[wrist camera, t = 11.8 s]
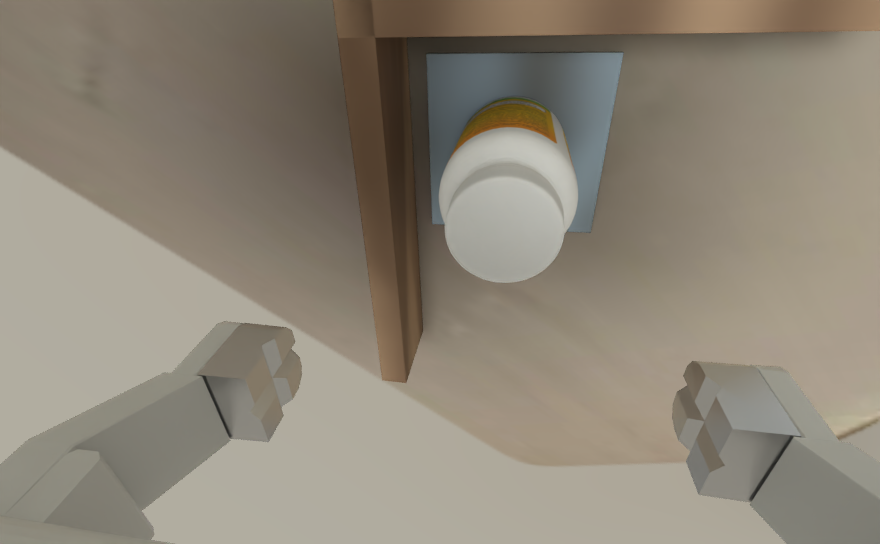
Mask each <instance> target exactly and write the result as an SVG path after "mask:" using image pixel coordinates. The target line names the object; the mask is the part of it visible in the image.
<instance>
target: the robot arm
mask: <svg viewBox="0 0 880 544" xmlns="http://www.w3.org/2000/svg"><path fill="white" fill-rule="evenodd" d="M294 343H295V339H294V336H293V333H292V330H290V329H288V328H286V327H277V326H268V325H259V324H250V323H236V322H227V321H224V322H222V323H218V324H217V325H216V326H215V327H214V328H213V329H212V330H211V331H210V332H209V333H208V334H207V335H206V337H205V338H204V339H203V340H202V341H201V342H200V343H199V344H198V345H197V346H196V347H195V348H194V349H193V350H192V352H191V353H190V354H189V355H188V356H187V357H186V358H185V359H184V360H183V361H182V362H181V363H180V364H179V365H178V366H177V368H176V369H175V370H174V371H173V372H172V373H162V374H161V375H158V376H156V377H154V378H152V379H150V380H148V381H146V382H144V383H142V384H140V385H138V386H136V387H134V388H132V389H130V390H128V391H126V392H124V393H122V394H120V395H118V396H116V397H114V398H112V399H110V400H108V401H106V402H104V403H102V404H100V405H97V406H95V407H93V408H91V409H89V410H87V411H85V412H83V413H81V414H79V415H77V416H75V417H73V418H71V419H69V420H67V421H65V422H63V423H61V424H59V425H57V426H55V427H53V428H51V429H49V430H47V431H45V432H43V433H41V434H39V435H36V436H34V437H32V438H30V439H28V440H27V441H26V442H25V443H24V444H23V445H21V447H19V448H18V449H17V450H16V451H15V452H14V453H13V454H11V455H10V456H9V457H8V458H7V459H6V460H5V461H4V462H3V463H1V464H0V544H173V543H167V542H161V541H155V540H151V539H152V537H153V536H154V529H153V526H152V525H151V523H150V522H149V521H148V519H147V518H146V517H145V515H144V514H143V512H142V510H143V509H145V508H146V507H147V506H149V505H150V504H151V503H152V502H153V501H155V500H156V499H157V498H159V497H160V496H161V495H162V494H164V493H165V492H166V491H167V490H169V489H170V488H171V487H172V486H174V485H175V484H176V483H178V482H179V481H180V480H181V479H183V478H184V477H185V476H186V475H188V474H189V473H190V472H192V471H193V470H194V469H195V468H196V467H198V466H199V465H200V464H202V463H203V462H204V461H205V460H207V459H208V458H209V457H210V456H212V455H213V454H214V453H216V452H217V451H218V450H219V449H221V448H222V447H223V446H224V445H226V444H227V443H228V442H229V441H230V439H241V440H253V441H263V442H269V441H270V439H271V437H272V435H273V434H274V432H275V430H276V428H277V426H278V425H279V423H280V421H281V419H282V417H283V412H282V406H283V405H285V404H286V403H288V402H289V401H291V400H292V399H293V398H294V396H295V394H296V392H297V390H298V388H299V384H300V380H301V376H302V371H301V370H302V366H301V362H300V357H299V356H298V355H297V354H296V353H295V352H294V351H293V350H292V349H291V348H292V346H293V345H294ZM683 376H684V378H685V381H686V383H687V386H685V387H684V388H682V389H681V390H679V391H678V392H677V393H676V396H675V399H674V402H673V414H672V419H673V424H674V429H675V432H676V435H677V438H678V440H679V441H680V442H681V443H682V444H683V445H684V446H685V447H686V448H687V449H688V450H690V454H689V456H688V458H687V460H686V462H687V465H688V468H689V470H690V473H691V476H692V478H693V481H694V484H695V486H696V489H697V492H698V494H699V495H704V496H711V497H717V498H724V499H731V500H737V501H745V502H751V503H750V506H751V507H752V508H753V509H754V510H755V511H756V512H757V513H758V514H759V515H760V516H761V517H762V518H763V519H764V520H765V521H766V522H767V523H768V524H769V526H770V527H771V528H772V529H773V530H774V531H775V532H776V533H777V534H778V535H779V536H780V537H781V538H782V539H783V540H784V541H785V542H786V543H787V544H880V462H879V461H877V460H876V459H874V458H873V457H871V456H870V455H868V454H867V453H865V452H863V451H862V450H860V449H859V448H857V447H856V446H854V445H853V444H851V443H848V442H840V441H839V440H838V439H837V437H836V436H835V434H834V433H833V432H832V430H831V429H830V428H829V426H828V425H827V424H826V422H825V421H824V420H823V418H822V417H821V416H820V414H819V413H818V411H817V410H816V409H815V407H814V406H813V405H812V403H811V402H810V401H809V399H808V398H807V397H806V395H805V394H804V393H803V391H802V390H801V388H800V387H799V386H798V384H797V383H796V382H795V380H794V379H793V378H792V376H791V375H790V374H789V372H788V371H786V370H785V369H783V368H781V367H774V366H759V365H749V366H748V365H739V364H726V363H713V362H699V361H692V362H691V363H690V364H689V365H688V366H687V368H686V370H685V373H684V375H683Z"/></svg>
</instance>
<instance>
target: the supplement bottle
mask: <svg viewBox="0 0 880 544" xmlns="http://www.w3.org/2000/svg"><path fill="white" fill-rule="evenodd" d="M577 204H578V186H577V178H576V174H575V170H574V167H573V163H572V160H571V156H570V152H569V148H568V144H567V141H566V137H565V134H564V131H563V129H562V126H561V124H560V123H559V121H558V119H557V118H556V116H555V115H554V114H553V113H552V112H551V111H550V110H549V109H548V108H547V107H545V106H544V105H542V104H541V103H539V102H537V101H535V100H532V99H529V98H525V97H517V96H513V97H504V98H500V99H497V100H494V101H492V102H490V103H488V104H486V105H485V106H483V107H482V108H480V109H479V110H478V111H477V112H476V113H475V114H474V115H473V116H472V117H471V119H470V120H469V121H468V123H467V124H466V126H465V128H464V130H463V132H462V134H461V136H460V138H459V141H458V143H457V145H456V147H455V149H454V151H453V153H452V155H451V157H450V159H449V161H448V163H447V165H446V167H445V170H444V172H443V175H442V178H441V182H440V188H439V206H440V211H441V215H442V219H443V221H444V223H445V237H446V242H447V245H448V248H449V250H450V252H451V254H452V255H453V257H454V258H455V260H456V261H457V262H458V263H459V264H460V265H461V266H462V267H463V268H464V269H465V270H467V271H468V272H470V273H471V274H473V275H475V276H477V277H479V278H481V279H484V280H487V281H492V282H499V283H511V282H518V281H523V280H526V279H529V278H531V277H533V276H535V275H537V274H539V273H540V272H542V271H543V270H544V269H546V268H547V267H548V266H549V265H550V264H551V263H552V262H553V260H554V259H555V258H556V256H557V255H558V253H559V251H560V249H561V246H562V243H563V239H564V234H565V233H566V231H567V230H568V228H569V227H570V225H571V223H572V221H573V218H574V216H575V213H576V209H577Z"/></svg>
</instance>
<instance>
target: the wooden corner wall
mask: <svg viewBox="0 0 880 544" xmlns="http://www.w3.org/2000/svg"><path fill="white" fill-rule="evenodd" d="M333 6H334V14H335V21H336V29H337V37H338V44H339V52H340V60H341V67H342V75H343V83H344V90H345V98H346V106H347V113H348V121H349V129H350V136H351V144H352V151H353V159H354V167H355V174H356V182H357V190H358V197H359V205H360V213H361V220H362V228H363V236H364V243H365V251H366V259H367V266H368V274H369V281H370V289H371V297H372V304H373V312H374V320H375V327H376V335H377V343H378V350H379V358H380V366H381V373H382V380H385V381H394V382H402V383H406V382H407V379H408V376H409V372H410V369H411V366H412V363H413V360H414V357H415V354H416V351H417V347H418V344H419V341H420V338H421V335H422V332H423V322H422V304H421V286H420V268H419V250H418V232H417V214H416V196H415V179H414V161H413V143H412V125H411V107H410V89H409V71H408V53H407V37H453V36H528V35H602V34H677V33H751V32H826V31H880V0H333ZM623 53H624V52H535V53H427V54H426V59H427V87H428V116H429V145H430V173H431V202H432V224H443V225H445V223H444V221H443V219H442V215H441V211H440V206H439V188H440V182H441V178H442V175H443V172H444V170H445V167H446V165H447V163H448V161H449V159H450V157H451V155H452V153H453V151H454V149H455V147H456V145H457V143H458V141H459V138H460V136H461V134H462V132H463V130H464V128H465V126H466V124H467V123H468V121H469V120H470V119H471V117H472V116H473V115H474V114H475V113H476V112H477V111H478V110H479V109H480V108H482V107H483V106H485V105H486V104H488V103H490V102H492V101H494V100H497V99H500V98H504V97H513V96H517V97H525V98H529V99H532V100H535V101H537V102H539V103H541V104H542V105H544V106H545V107H547V108H548V109H549V110H550V111H551V112H552V113H553V114H554V115H555V116H556V118H557V119H558V121H559V123H560V124H561V126H562V129H563V131H564V134H565V137H566V141H567V144H568V148H569V152H570V156H571V160H572V163H573V167H574V170H575V174H576V178H577V186H578V204H577V209H576V213H575V216H574V218H573V221H572V223H571V225H570V227H569V228H568V230H567V231H568V232H586V233H591V228H592V222H593V217H594V211H595V206H596V200H597V195H598V189H599V184H600V178H601V173H602V167H603V162H604V157H605V151H606V146H607V140H608V135H609V129H610V124H611V118H612V113H613V107H614V102H615V97H616V91H617V86H618V80H619V75H620V69H621V64H622V58H623Z"/></svg>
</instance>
